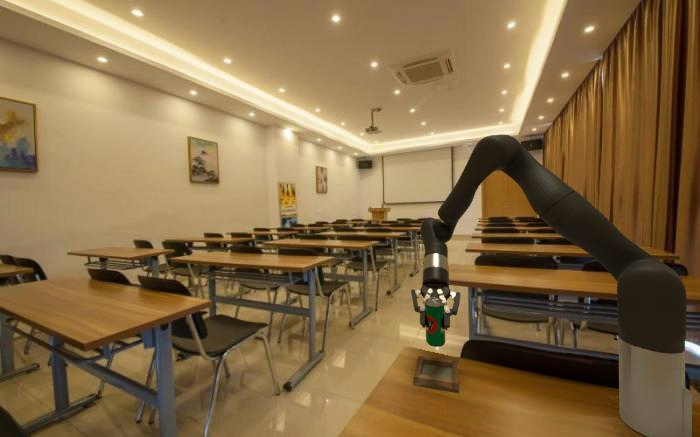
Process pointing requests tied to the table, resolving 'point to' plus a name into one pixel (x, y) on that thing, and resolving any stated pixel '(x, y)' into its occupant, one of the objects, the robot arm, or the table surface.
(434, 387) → the tray
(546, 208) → the robot arm
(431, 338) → the soda can
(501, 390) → the table surface
